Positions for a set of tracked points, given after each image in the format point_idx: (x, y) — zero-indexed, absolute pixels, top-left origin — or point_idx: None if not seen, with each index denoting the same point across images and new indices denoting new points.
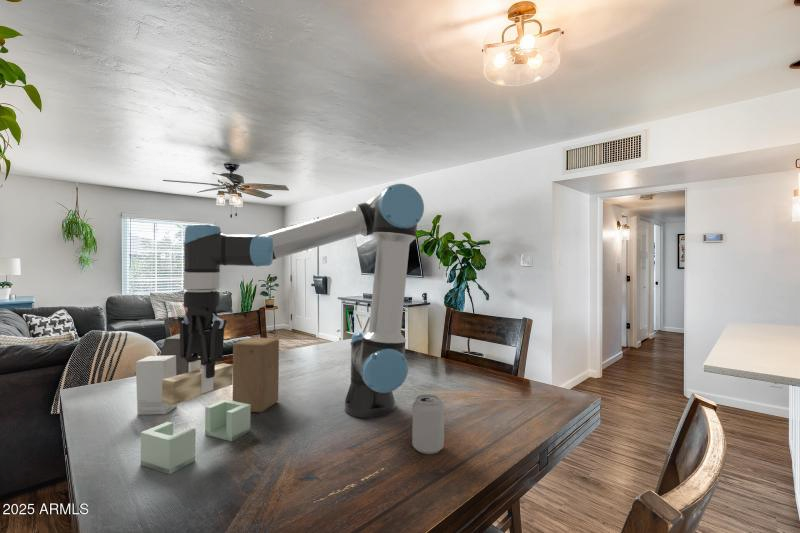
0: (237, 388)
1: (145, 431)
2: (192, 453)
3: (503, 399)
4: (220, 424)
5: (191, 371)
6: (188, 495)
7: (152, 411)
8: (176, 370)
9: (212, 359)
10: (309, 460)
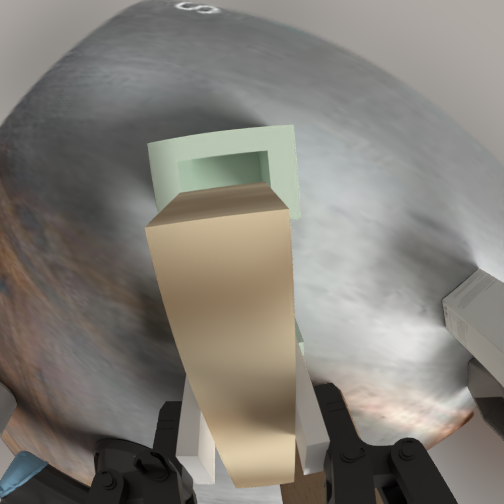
0: None
1: (285, 134)
2: None
3: None
4: None
5: (296, 403)
6: (70, 134)
7: (463, 287)
8: None
9: (101, 485)
10: (36, 322)
